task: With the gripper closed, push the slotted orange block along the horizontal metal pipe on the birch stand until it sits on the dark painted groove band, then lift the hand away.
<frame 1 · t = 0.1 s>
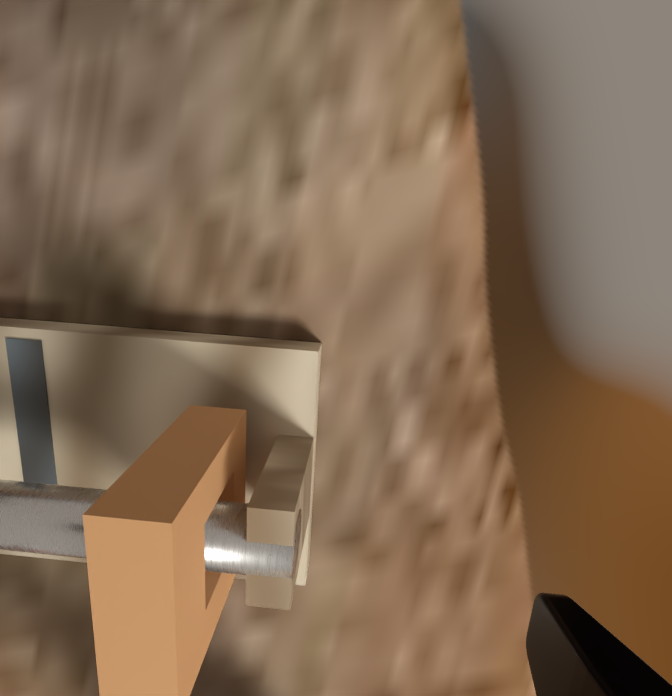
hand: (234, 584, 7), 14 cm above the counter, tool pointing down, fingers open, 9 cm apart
pipe: (31, 516, 17), point 5 cm above the counter
slotted orange block: (185, 537, 17), point 6 cm above the counter, slide at -6.0 cm
stand: (116, 442, 23), on the counter
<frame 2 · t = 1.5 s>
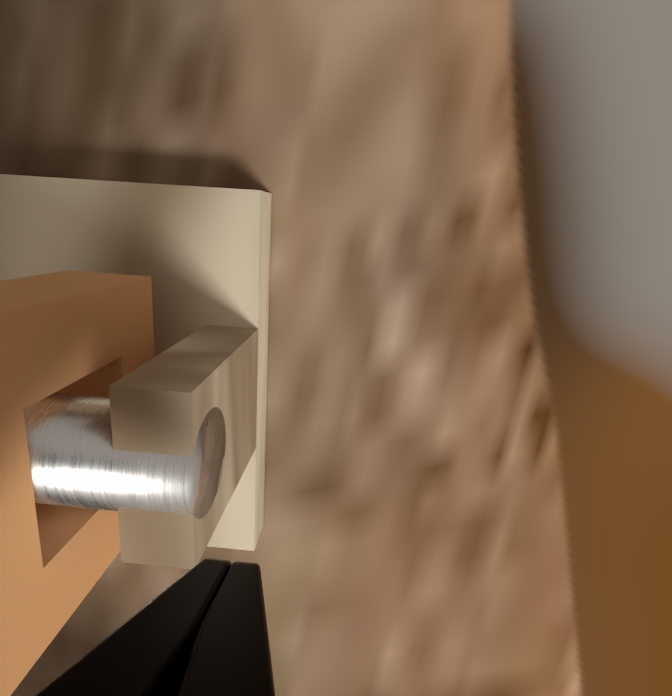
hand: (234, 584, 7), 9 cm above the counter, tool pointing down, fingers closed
slotted orange block: (25, 451, 10), point 6 cm above the counter, slide at -6.0 cm
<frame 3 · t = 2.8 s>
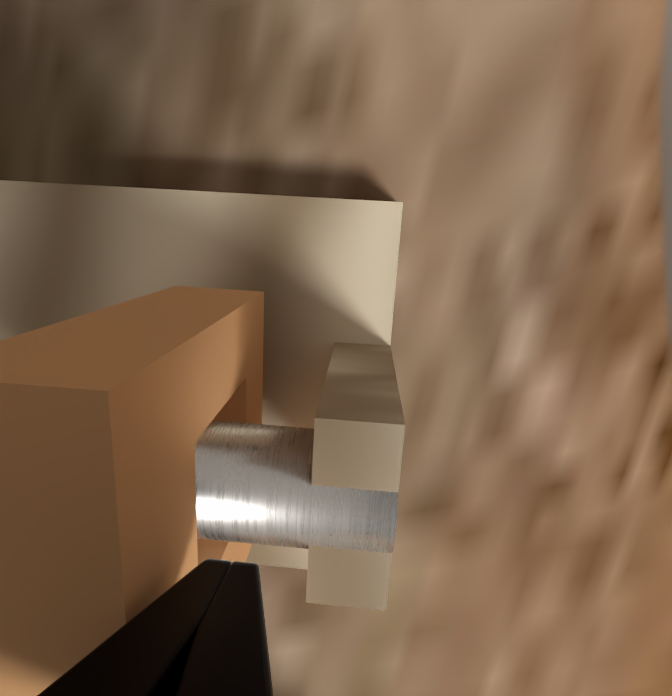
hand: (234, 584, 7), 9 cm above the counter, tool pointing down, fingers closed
slotted orange block: (164, 481, 9), point 6 cm above the counter, slide at -5.3 cm, touching gripper
stand: (92, 370, 16), on the counter
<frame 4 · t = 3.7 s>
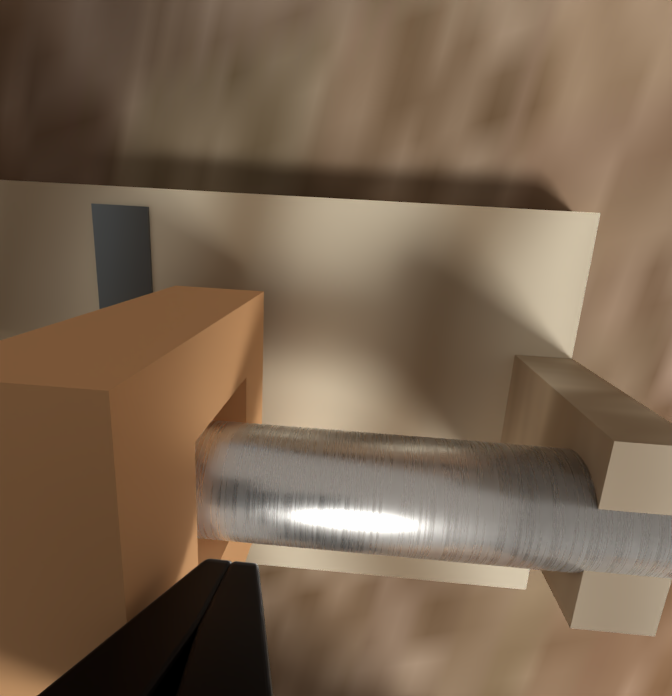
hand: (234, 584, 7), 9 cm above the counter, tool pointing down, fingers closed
pipe: (165, 473, 10), point 5 cm above the counter
slotted orange block: (164, 481, 9), point 6 cm above the counter, slide at -0.1 cm, touching gripper
stand: (240, 381, 16), on the counter
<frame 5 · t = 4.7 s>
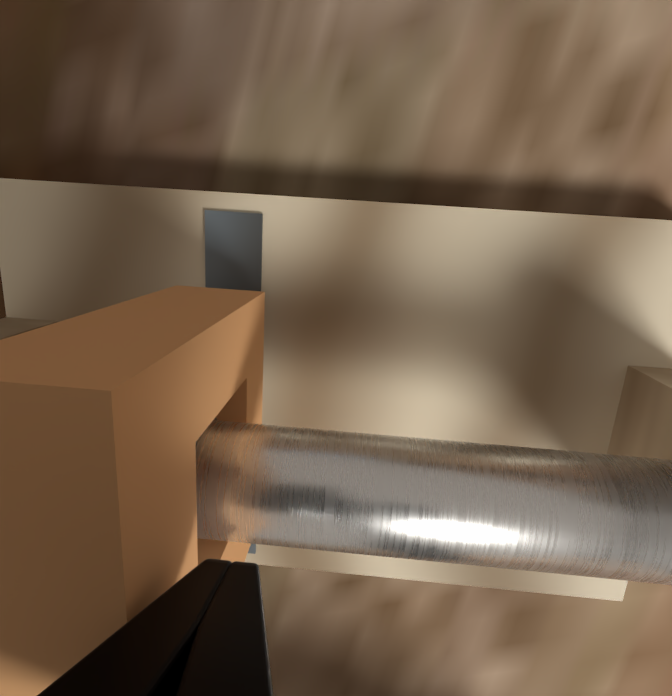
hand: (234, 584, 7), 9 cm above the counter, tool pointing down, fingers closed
pipe: (313, 486, 10), point 5 cm above the counter
slotted orange block: (164, 481, 9), point 6 cm above the counter, slide at 3.1 cm, touching gripper
stand: (333, 389, 15), on the counter
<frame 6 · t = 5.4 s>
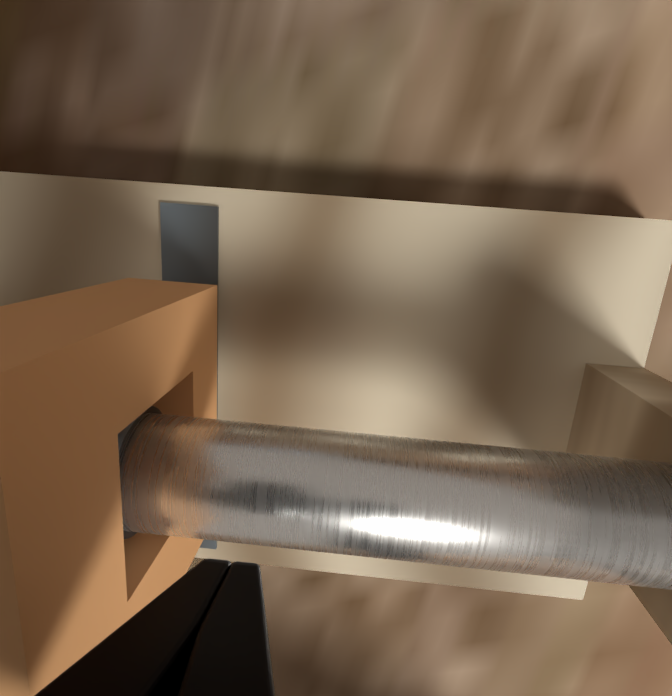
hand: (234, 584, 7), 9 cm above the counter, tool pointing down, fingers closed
pipe: (253, 481, 10), point 5 cm above the counter
slotted orange block: (100, 474, 9), point 6 cm above the counter, slide at 3.1 cm
stand: (296, 384, 15), on the counter
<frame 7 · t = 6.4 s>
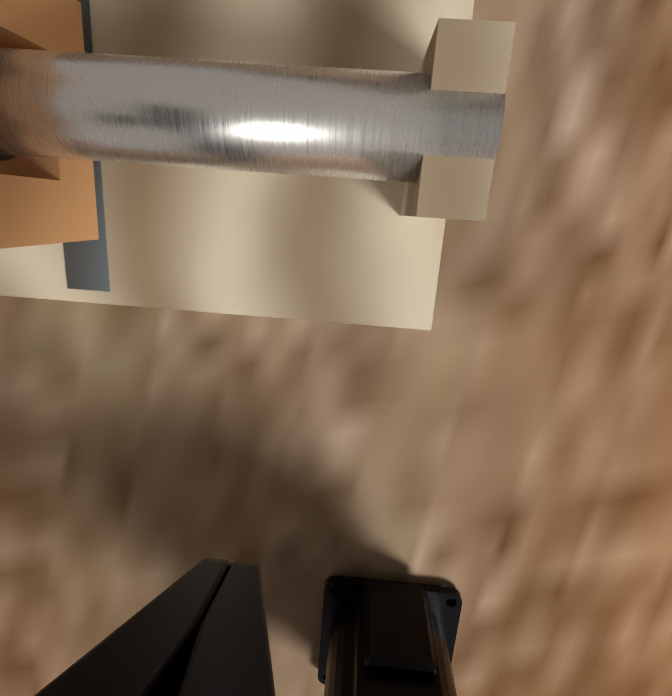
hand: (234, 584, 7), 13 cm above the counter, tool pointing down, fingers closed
pipe: (84, 108, 11), point 5 cm above the counter
stand: (178, 144, 17), on the counter
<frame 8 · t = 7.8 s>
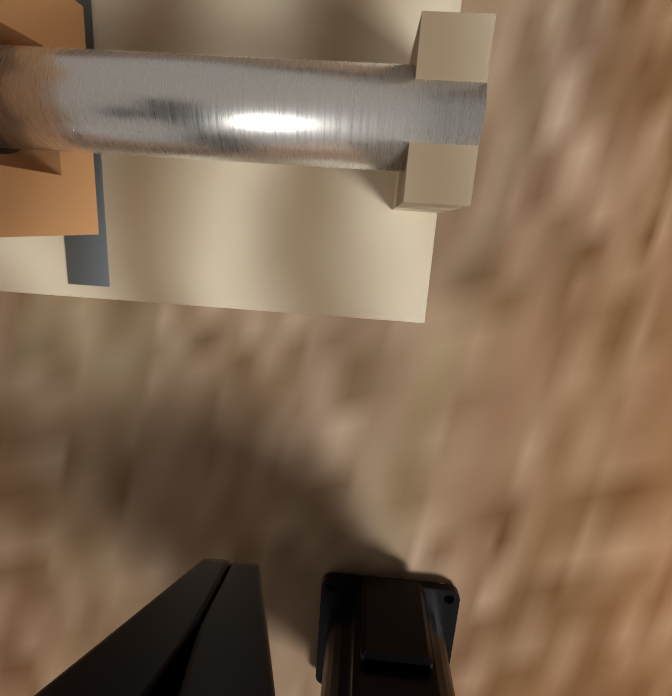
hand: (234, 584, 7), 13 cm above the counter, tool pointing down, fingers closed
pipe: (84, 103, 12), point 5 cm above the counter
stand: (176, 143, 18), on the counter
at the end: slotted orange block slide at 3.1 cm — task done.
